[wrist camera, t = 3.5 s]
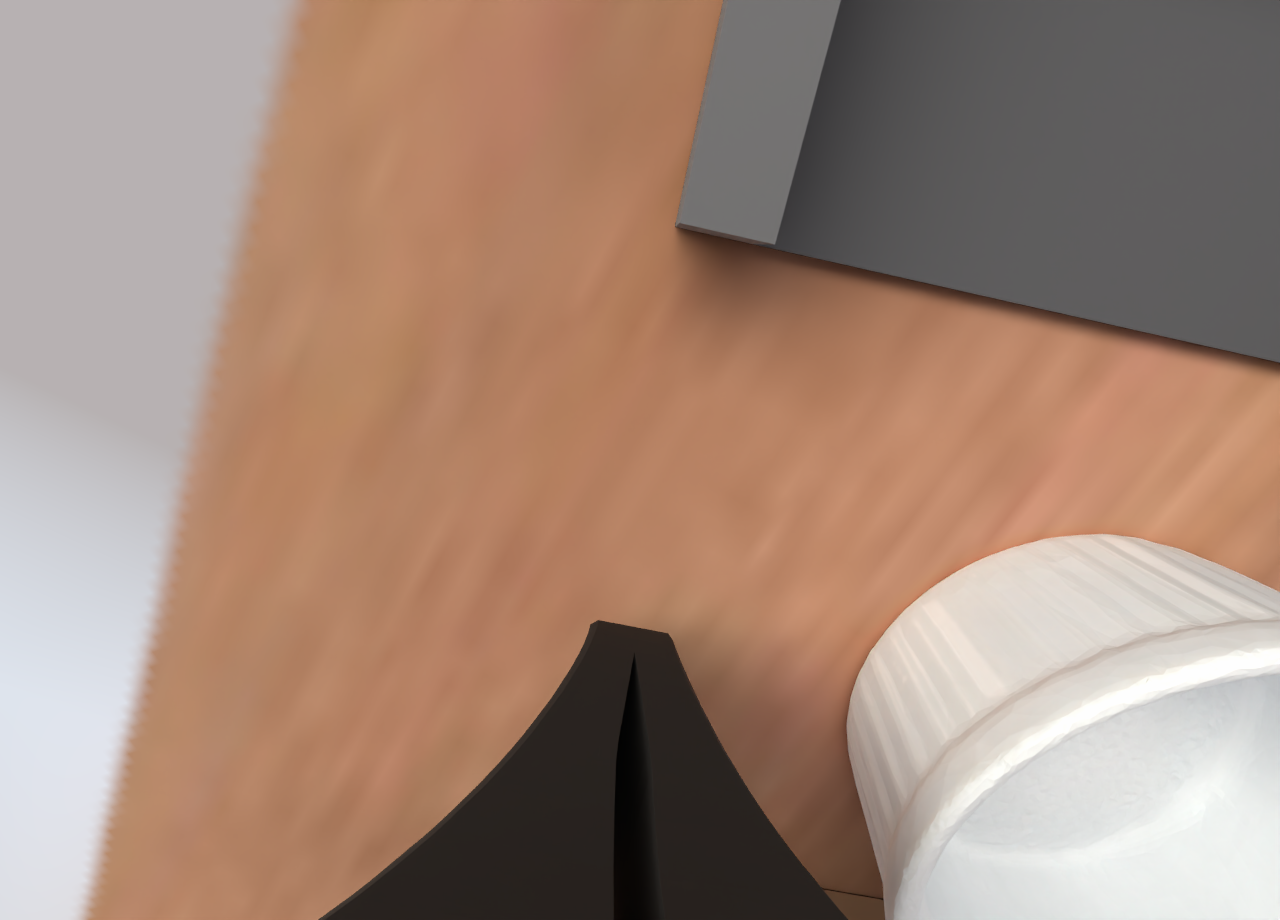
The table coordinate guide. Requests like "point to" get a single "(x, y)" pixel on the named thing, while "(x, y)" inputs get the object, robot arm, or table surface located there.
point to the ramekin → (1076, 739)
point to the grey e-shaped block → (1010, 152)
